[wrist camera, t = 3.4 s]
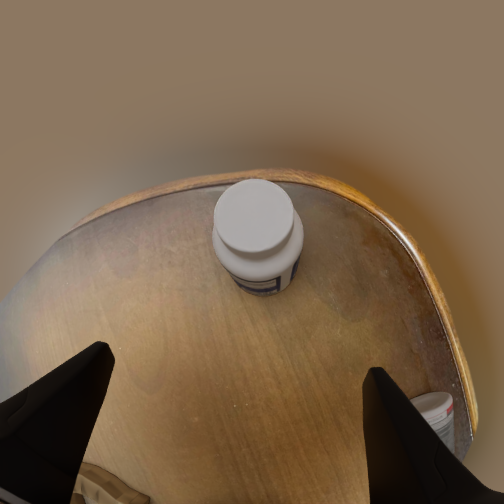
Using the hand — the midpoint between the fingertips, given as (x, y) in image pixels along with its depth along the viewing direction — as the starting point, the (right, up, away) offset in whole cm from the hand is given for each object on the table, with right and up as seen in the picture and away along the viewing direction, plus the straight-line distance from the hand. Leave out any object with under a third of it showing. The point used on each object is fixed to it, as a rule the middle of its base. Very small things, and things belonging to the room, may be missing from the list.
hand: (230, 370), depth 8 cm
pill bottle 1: (+2, +3, +15) cm, 15 cm away
